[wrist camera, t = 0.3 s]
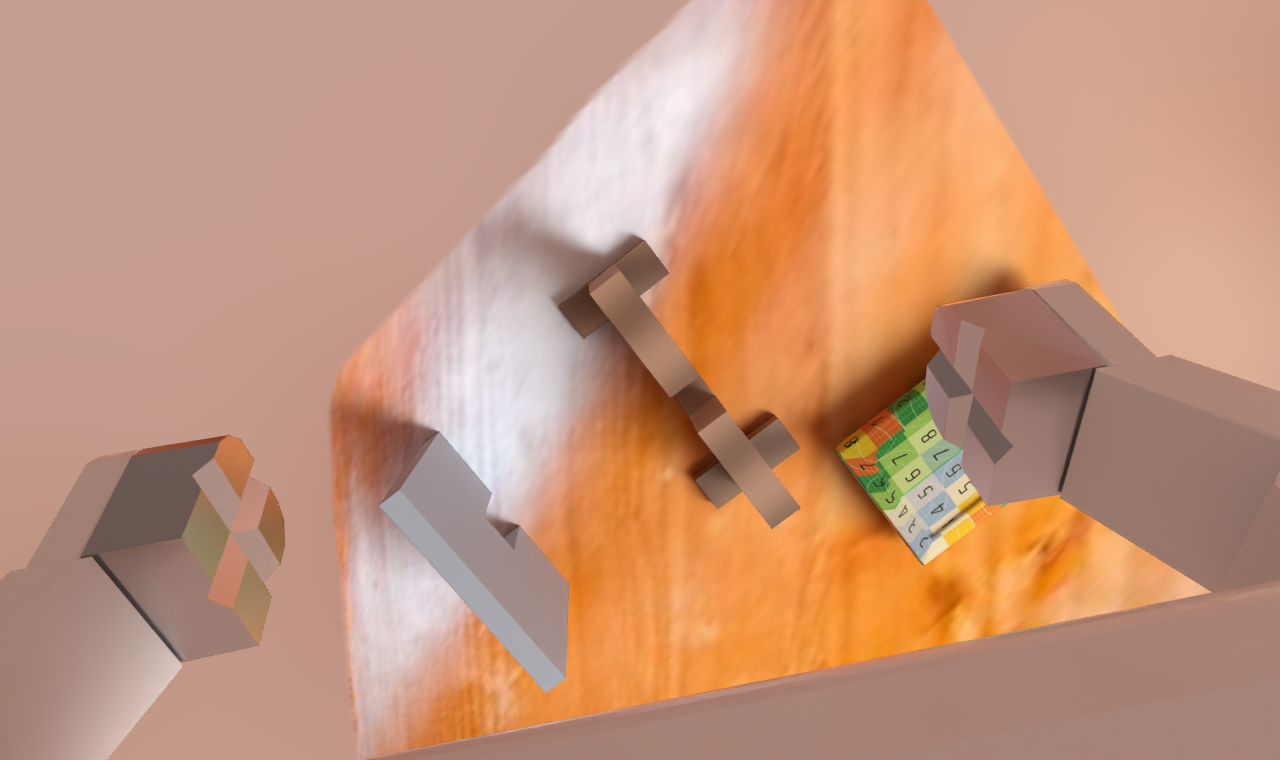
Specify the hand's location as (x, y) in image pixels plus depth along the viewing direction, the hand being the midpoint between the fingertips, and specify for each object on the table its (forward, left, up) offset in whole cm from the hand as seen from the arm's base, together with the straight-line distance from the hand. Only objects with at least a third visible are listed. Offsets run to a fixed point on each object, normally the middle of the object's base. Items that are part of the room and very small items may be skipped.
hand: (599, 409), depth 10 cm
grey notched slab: (-12, +18, -53) cm, 57 cm away
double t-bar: (-12, 0, -53) cm, 54 cm away
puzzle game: (-29, -16, -53) cm, 63 cm away
